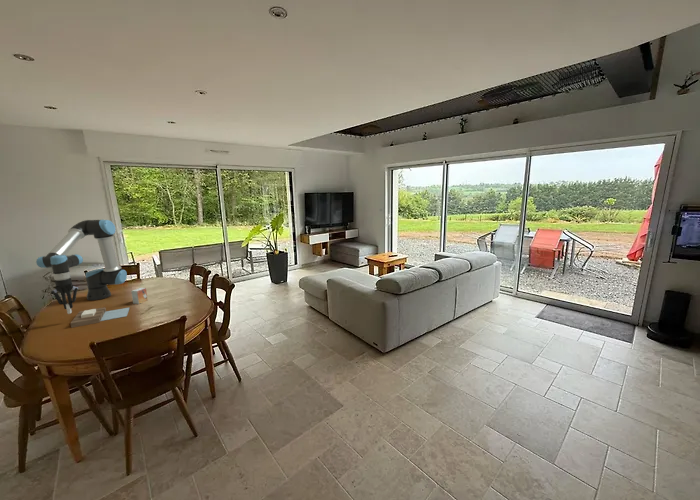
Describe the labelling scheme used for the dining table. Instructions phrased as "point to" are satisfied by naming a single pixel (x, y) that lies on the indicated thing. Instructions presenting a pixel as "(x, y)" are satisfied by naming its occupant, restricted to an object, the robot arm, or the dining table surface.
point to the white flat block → (88, 313)
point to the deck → (88, 318)
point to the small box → (139, 295)
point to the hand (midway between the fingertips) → (69, 313)
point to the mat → (115, 314)
